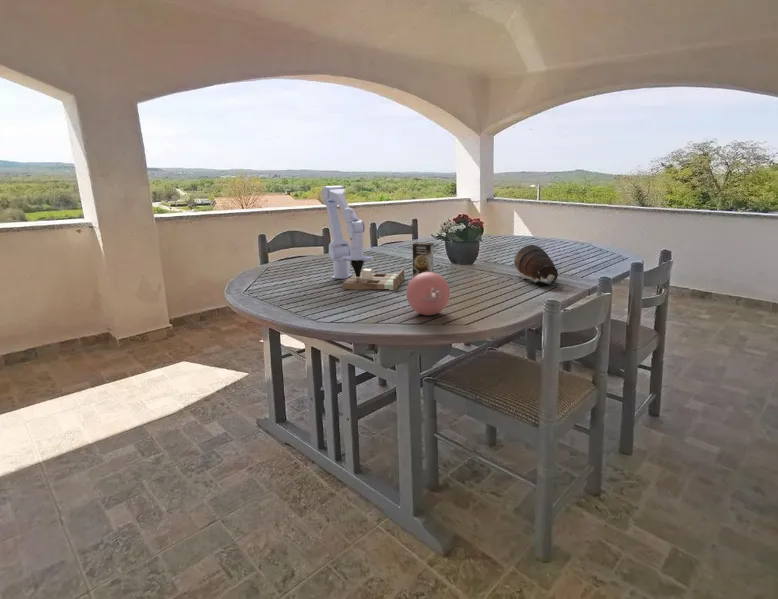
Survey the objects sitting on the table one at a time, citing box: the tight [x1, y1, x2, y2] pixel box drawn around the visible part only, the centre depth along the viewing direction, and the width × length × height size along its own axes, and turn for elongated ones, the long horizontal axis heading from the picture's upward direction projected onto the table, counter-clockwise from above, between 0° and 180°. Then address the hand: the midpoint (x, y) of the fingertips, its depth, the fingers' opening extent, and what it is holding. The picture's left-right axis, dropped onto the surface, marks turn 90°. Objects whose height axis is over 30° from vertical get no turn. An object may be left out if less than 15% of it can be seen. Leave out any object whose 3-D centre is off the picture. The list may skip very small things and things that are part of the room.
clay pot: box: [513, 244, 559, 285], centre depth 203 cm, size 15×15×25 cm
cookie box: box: [412, 241, 435, 278], centre depth 220 cm, size 9×6×16 cm
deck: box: [342, 268, 405, 291], centre depth 209 cm, size 21×24×5 cm
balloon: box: [405, 271, 451, 316], centre depth 159 cm, size 15×20×15 cm
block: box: [361, 268, 373, 279], centre depth 209 cm, size 4×4×4 cm
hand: (358, 276), depth 210 cm, fingers closed
